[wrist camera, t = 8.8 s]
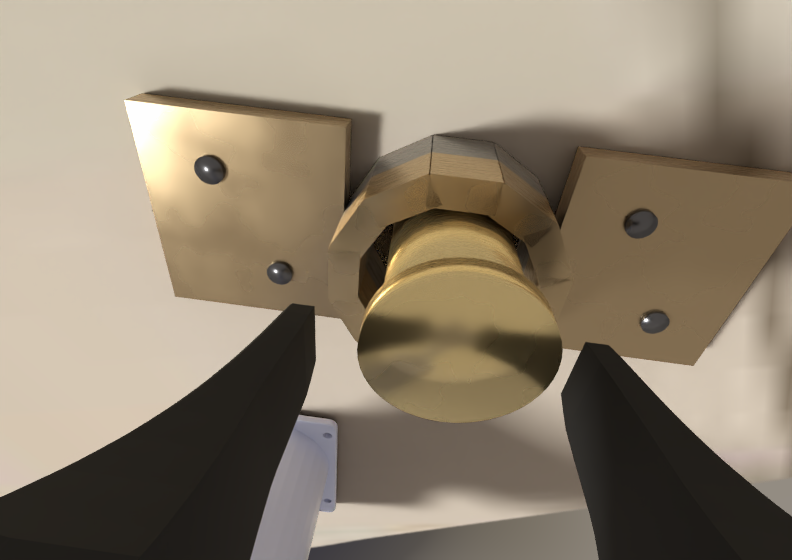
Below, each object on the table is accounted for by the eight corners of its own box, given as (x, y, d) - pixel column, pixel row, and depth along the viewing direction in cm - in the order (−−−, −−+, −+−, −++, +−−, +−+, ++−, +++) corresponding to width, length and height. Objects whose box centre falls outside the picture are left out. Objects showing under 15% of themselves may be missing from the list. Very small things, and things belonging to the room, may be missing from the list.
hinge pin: (500, 284, 18) (532, 431, 12) (380, 272, 18) (355, 412, 12) (532, 168, 15) (592, 289, 9) (387, 154, 15) (359, 266, 9)
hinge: (682, 349, 19) (724, 415, 16) (186, 282, 19) (141, 336, 16) (799, 173, 14) (887, 222, 11) (142, 93, 15) (68, 121, 12)
